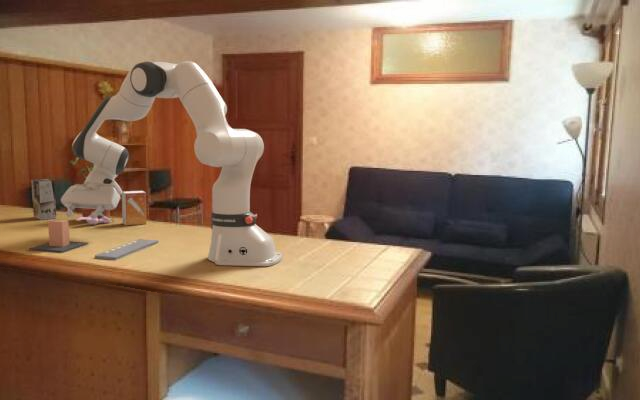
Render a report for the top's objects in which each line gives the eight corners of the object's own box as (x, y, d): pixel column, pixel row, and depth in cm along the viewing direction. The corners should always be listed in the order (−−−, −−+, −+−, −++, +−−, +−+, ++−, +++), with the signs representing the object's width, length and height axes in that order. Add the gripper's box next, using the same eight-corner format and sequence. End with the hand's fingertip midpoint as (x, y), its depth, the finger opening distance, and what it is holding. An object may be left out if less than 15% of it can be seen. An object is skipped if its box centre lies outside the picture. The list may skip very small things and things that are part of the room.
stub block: (69, 244, 166) (68, 220, 165) (63, 246, 164) (61, 222, 162) (56, 243, 167) (54, 219, 166) (49, 245, 165) (48, 221, 163)
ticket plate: (158, 242, 174) (158, 240, 174) (115, 259, 151) (115, 256, 151) (139, 241, 176) (139, 238, 176) (94, 258, 153) (94, 255, 153)
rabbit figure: (106, 224, 211) (72, 223, 199) (108, 210, 211) (73, 208, 199) (116, 226, 208) (81, 225, 196) (117, 211, 208) (82, 210, 196)
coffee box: (57, 218, 215) (55, 180, 213) (40, 220, 211) (38, 181, 208) (49, 215, 222) (47, 178, 219) (33, 217, 217) (30, 179, 215)
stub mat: (87, 244, 170) (87, 242, 170) (62, 252, 159) (62, 250, 158) (56, 241, 173) (56, 240, 173) (29, 250, 161) (29, 248, 161)
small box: (126, 225, 202) (125, 193, 201) (122, 223, 208) (121, 191, 206) (147, 224, 207) (146, 192, 205) (142, 221, 212) (141, 190, 210)
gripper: (67, 178, 183) (49, 209, 175) (119, 181, 179) (102, 213, 171) (76, 189, 188) (59, 220, 180) (126, 192, 184) (111, 223, 176)
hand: (80, 216), depth 175 cm, fingers open, 8 cm apart
